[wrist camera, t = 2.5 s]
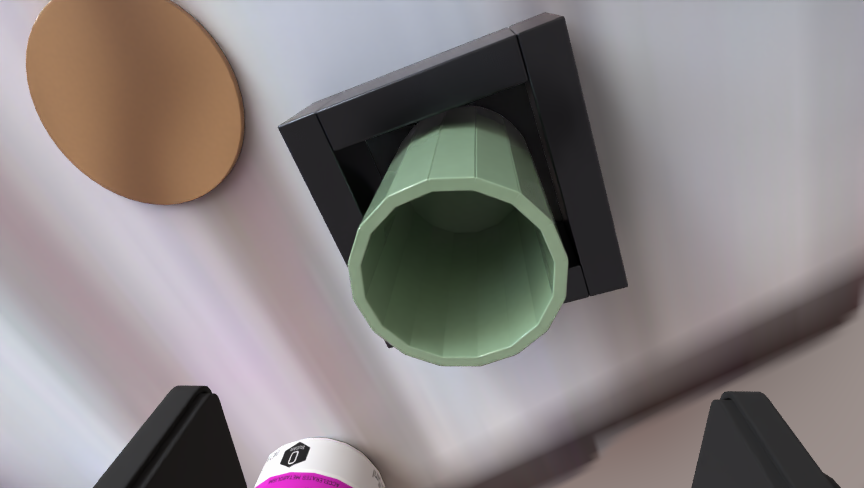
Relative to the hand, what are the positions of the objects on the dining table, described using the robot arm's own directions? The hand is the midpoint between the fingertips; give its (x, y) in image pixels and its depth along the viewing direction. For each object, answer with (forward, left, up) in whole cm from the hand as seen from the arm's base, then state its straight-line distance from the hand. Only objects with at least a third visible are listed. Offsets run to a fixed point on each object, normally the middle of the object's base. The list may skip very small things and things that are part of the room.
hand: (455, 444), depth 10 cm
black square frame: (0, 0, -16) cm, 16 cm away
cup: (0, 0, -16) cm, 16 cm away
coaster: (-15, +4, -16) cm, 22 cm away
